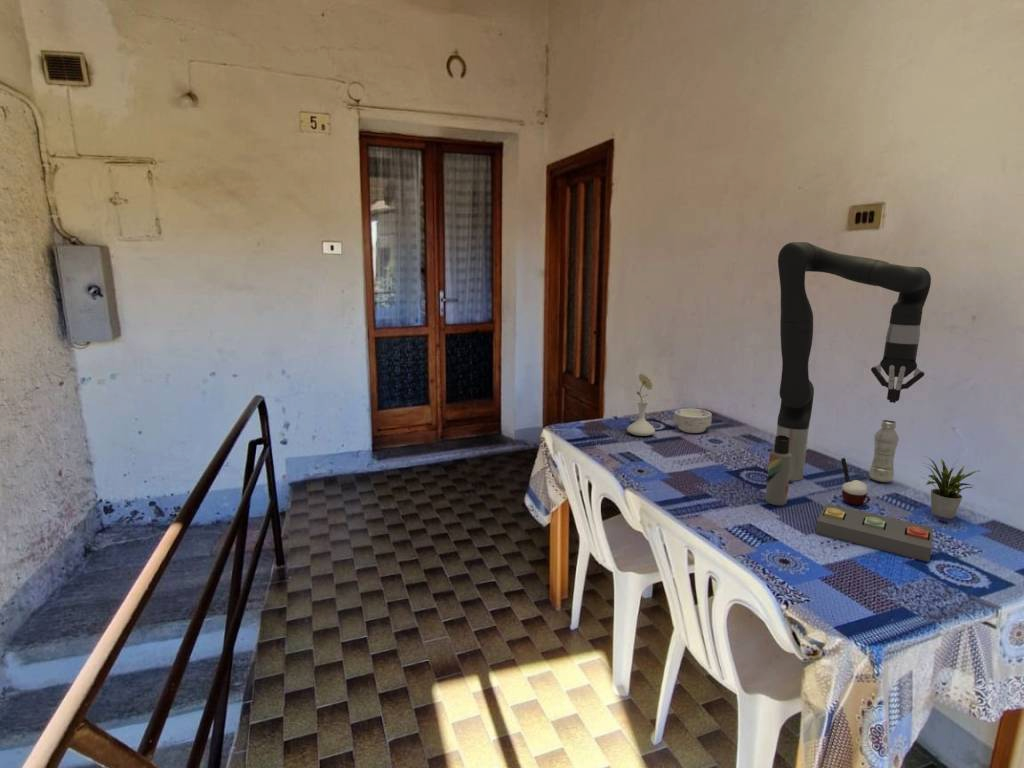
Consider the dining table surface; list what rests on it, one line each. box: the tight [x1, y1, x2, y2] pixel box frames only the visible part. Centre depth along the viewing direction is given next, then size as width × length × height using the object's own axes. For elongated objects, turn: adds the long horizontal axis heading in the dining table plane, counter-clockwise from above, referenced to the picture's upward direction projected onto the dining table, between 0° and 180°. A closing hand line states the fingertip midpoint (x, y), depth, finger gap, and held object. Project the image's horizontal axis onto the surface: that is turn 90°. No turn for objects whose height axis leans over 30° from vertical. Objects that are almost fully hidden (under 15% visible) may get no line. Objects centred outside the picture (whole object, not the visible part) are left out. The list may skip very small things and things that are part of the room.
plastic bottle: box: [868, 419, 900, 483], centre depth 181 cm, size 6×7×20 cm
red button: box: [906, 526, 928, 540], centre depth 140 cm, size 4×4×4 cm
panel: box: [815, 503, 934, 563], centre depth 145 cm, size 24×14×4 cm, turn 53°
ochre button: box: [824, 508, 845, 520], centre depth 150 cm, size 4×4×4 cm
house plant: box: [920, 455, 980, 519], centre depth 158 cm, size 14×14×16 cm
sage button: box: [864, 517, 885, 530], centre depth 145 cm, size 4×4×4 cm
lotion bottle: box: [765, 435, 792, 506], centre depth 164 cm, size 6×6×20 cm
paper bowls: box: [673, 408, 713, 434], centre depth 238 cm, size 15×15×8 cm
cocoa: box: [840, 457, 871, 506], centre depth 166 cm, size 10×6×12 cm, turn 2°
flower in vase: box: [626, 372, 656, 437], centre depth 231 cm, size 13×11×25 cm
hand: (892, 402), depth 159 cm, fingers closed
